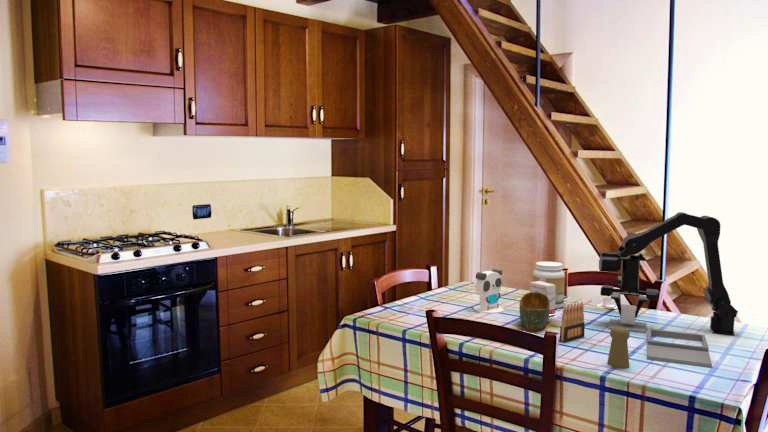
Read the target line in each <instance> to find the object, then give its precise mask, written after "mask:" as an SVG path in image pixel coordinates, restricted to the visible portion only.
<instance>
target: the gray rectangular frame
mask: <svg viewBox="0 0 768 432" xmlns="http://www.w3.org/2000/svg"><path fill="white" fill-rule="evenodd" d="M652 336H653V337H659V338H669V339H675V340H676V339H678V340H686V341H696V342H700V343H701V345H693V344H684V343H675V342H668V341H667V342H666V341H659V340H658V341H657V340H652ZM646 343H647V344H646V345H647V346H646V360H648V361H649V360H651V361H658V362H665V363H673V364H681V365H688V366H689V365H690V366H698V367H705V368H713V367H712V366H713V363H712V360H711V356H710V352H709V350H710V349H709V344H708V341H707V338H706V334H699V333H690V332H681V331H672V330H664V329H663V330H662V329H653V328H647V341H646Z"/></svg>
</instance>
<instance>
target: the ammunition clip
mask: <svg viewBox="0 0 768 432" xmlns="http://www.w3.org/2000/svg"><path fill="white" fill-rule="evenodd" d="M584 308H585V307H584V302H583V301H580V302H577V304H576V302H574V303H571V304H567V305H563V309H562V316H561V325H560V327H559V328H560V329H559V343H563V344H566V343H568V342H572V341H576V340H580V339H584V338H585V323H586V322H585V313H584Z"/></svg>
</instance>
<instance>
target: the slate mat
mask: <svg viewBox="0 0 768 432" xmlns="http://www.w3.org/2000/svg"><path fill="white" fill-rule="evenodd" d="M613 327H624V328H627V329H628V330H629V332H631V333H632V332H633V333H634V332H635V333H643V334H647V322H641V321H635V324H626V323H621V319H616V318H615V319H614V318H610V320H609V324H608V330H611V329H612V328H613Z"/></svg>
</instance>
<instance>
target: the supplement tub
mask: <svg viewBox="0 0 768 432" xmlns="http://www.w3.org/2000/svg"><path fill="white" fill-rule="evenodd" d="M563 266H564V265H563V263H562V262H557V261H537V262H535V267H534V268H535V269H534V270H533V271H532V272H533V273H532V282H536V281H541V282H546V283H550V284H554V285H555V310H557V309H561V308H562V307H563V308H564V306H565V305H564V304H565V284H566V283H565V282H566V281H565V280H566V275H565V271H564V270H563V269H564V267H563Z"/></svg>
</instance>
